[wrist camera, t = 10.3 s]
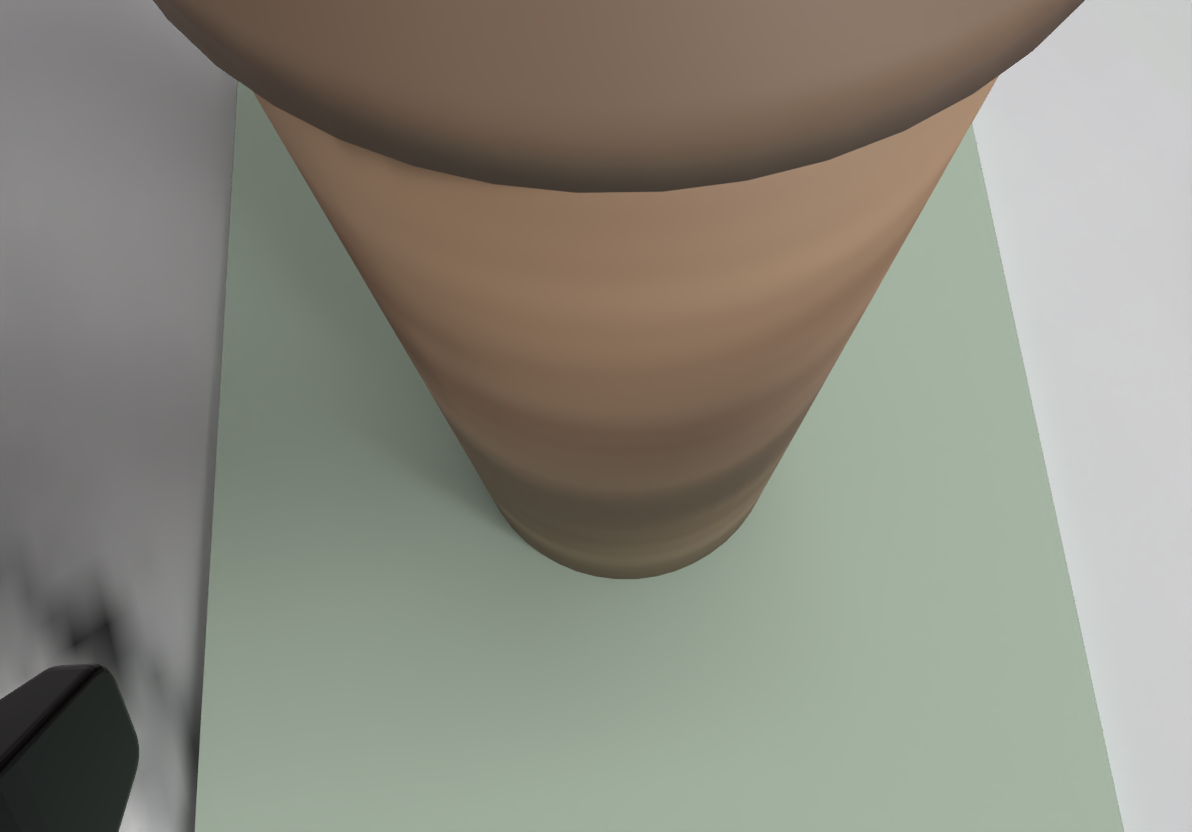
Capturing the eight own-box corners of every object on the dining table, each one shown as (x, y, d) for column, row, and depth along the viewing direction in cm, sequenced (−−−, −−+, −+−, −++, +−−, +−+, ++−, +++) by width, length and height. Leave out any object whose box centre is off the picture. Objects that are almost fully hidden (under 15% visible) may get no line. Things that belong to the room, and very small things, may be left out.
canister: (803, 580, 16) (1432, 50, 3) (471, 602, 16) (-82, 156, 4) (764, 278, 17) (1098, -817, 5) (464, 299, 18) (72, -730, 5)
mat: (1129, 912, 15) (1142, 917, 14) (197, 973, 15) (186, 979, 14) (942, 25, 19) (947, 11, 19) (245, 81, 20) (237, 69, 19)
